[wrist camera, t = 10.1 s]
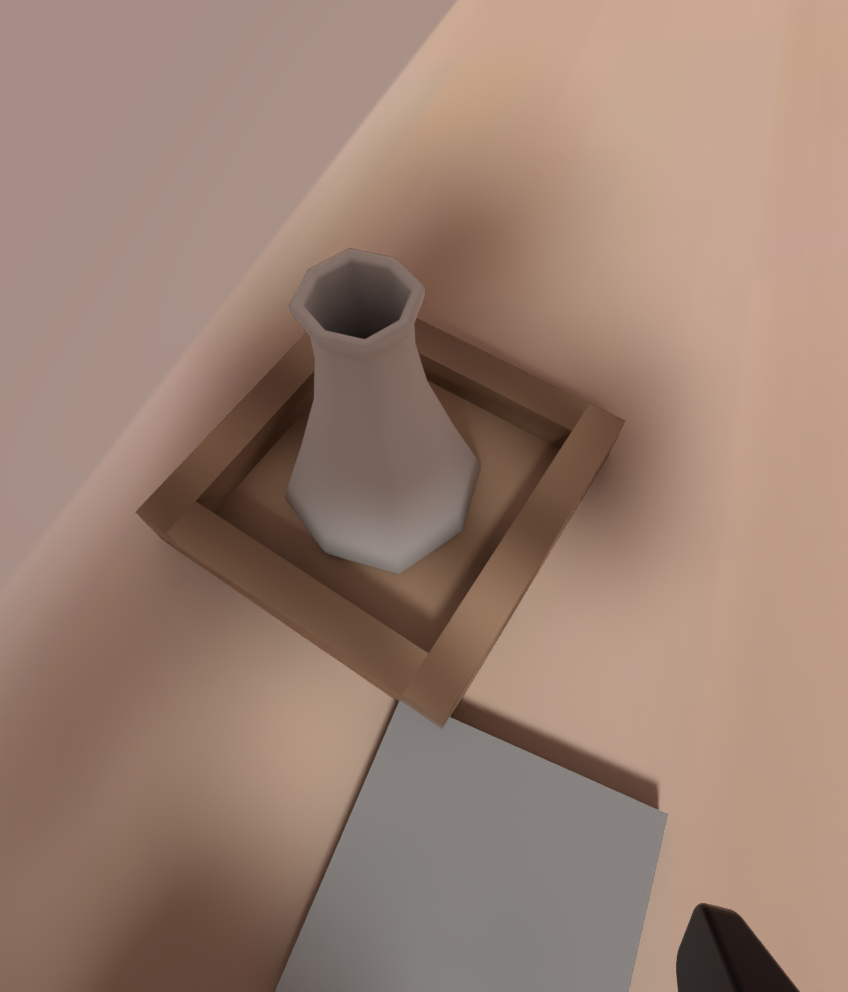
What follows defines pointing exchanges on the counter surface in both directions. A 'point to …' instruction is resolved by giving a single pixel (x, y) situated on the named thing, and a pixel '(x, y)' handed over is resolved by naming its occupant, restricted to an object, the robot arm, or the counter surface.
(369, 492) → the flask
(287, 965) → the slate coaster
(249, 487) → the tray
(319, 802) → the counter surface
